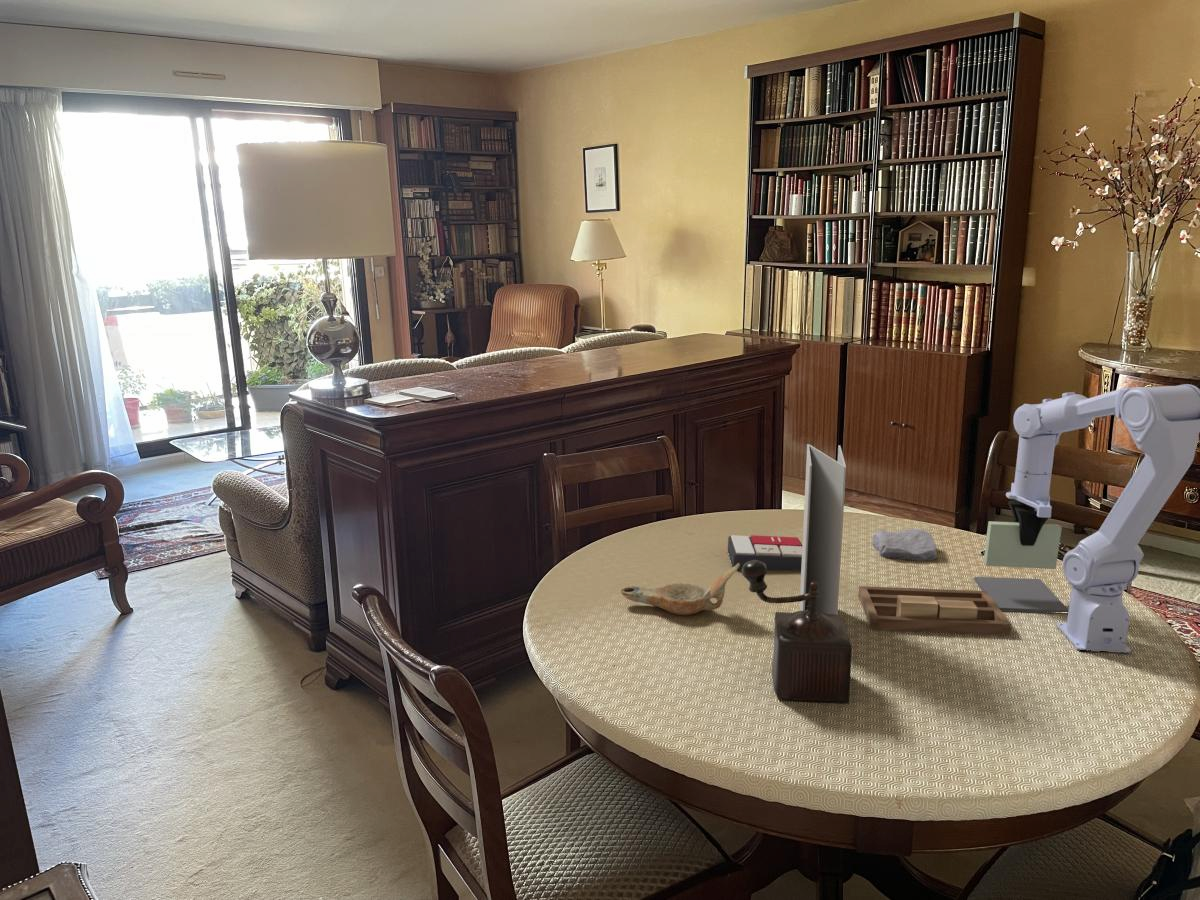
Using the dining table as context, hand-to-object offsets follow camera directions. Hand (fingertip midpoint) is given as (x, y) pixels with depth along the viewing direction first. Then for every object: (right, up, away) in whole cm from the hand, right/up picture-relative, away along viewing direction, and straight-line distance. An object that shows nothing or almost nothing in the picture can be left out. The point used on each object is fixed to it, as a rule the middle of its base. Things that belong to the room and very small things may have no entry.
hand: (1025, 542), depth 155 cm
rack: (-19, -12, -5) cm, 23 cm away
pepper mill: (-48, -18, -26) cm, 58 cm away
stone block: (-13, -5, +24) cm, 28 cm away
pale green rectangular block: (-1, -4, +1) cm, 5 cm away
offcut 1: (-23, -13, -8) cm, 27 cm away
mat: (0, -10, +3) cm, 10 cm away
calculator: (-43, -6, +22) cm, 48 cm away
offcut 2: (-16, -13, -8) cm, 23 cm away
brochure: (-40, -13, -7) cm, 42 cm away
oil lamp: (-63, -12, -1) cm, 64 cm away
